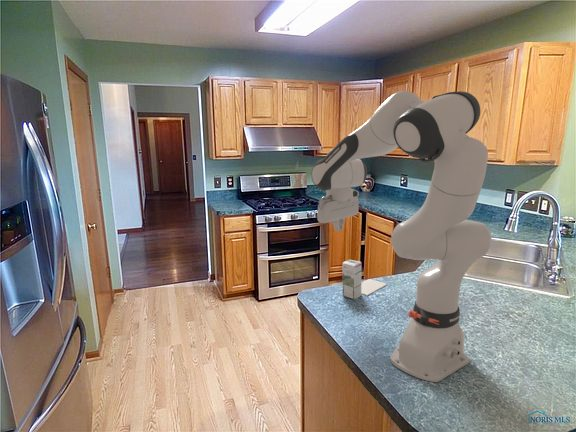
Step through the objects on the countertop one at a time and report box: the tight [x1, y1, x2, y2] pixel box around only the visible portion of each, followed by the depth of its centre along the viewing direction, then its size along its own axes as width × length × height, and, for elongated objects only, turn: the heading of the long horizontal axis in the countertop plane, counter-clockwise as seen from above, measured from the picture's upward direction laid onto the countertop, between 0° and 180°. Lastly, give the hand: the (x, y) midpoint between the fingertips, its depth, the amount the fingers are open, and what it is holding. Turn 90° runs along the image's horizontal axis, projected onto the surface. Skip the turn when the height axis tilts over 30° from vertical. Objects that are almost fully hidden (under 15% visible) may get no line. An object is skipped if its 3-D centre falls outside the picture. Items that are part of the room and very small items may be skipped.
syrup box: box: [341, 259, 363, 301], centre depth 138 cm, size 6×6×14 cm
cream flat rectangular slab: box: [361, 278, 388, 296], centre depth 147 cm, size 15×9×1 cm, turn 133°
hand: (338, 230), depth 128 cm, fingers closed
